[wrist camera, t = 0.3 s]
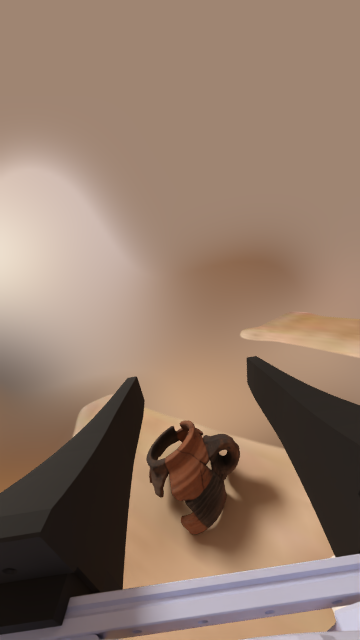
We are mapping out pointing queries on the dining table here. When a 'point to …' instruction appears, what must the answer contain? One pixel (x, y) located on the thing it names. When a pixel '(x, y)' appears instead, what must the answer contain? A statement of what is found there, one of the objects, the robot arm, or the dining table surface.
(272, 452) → the dining table surface
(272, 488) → the dining table surface
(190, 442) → the pottery mug
